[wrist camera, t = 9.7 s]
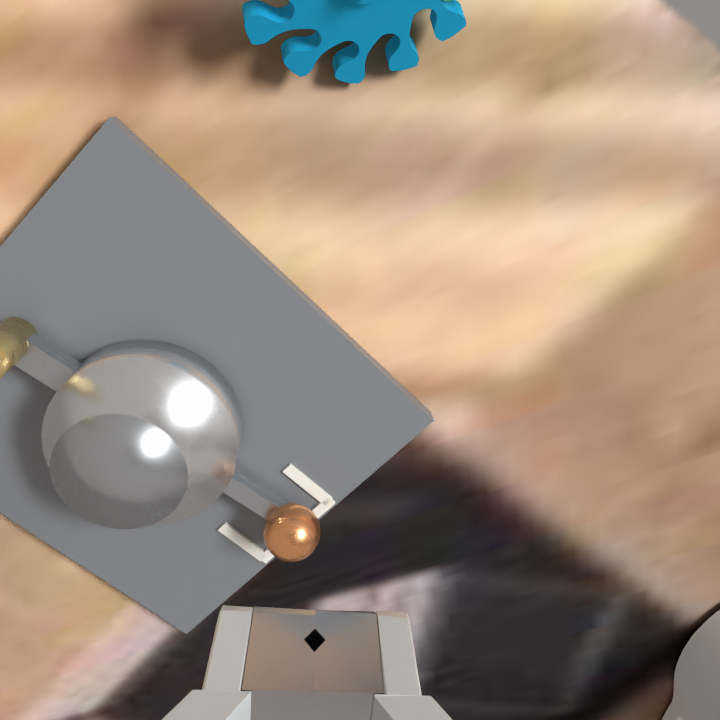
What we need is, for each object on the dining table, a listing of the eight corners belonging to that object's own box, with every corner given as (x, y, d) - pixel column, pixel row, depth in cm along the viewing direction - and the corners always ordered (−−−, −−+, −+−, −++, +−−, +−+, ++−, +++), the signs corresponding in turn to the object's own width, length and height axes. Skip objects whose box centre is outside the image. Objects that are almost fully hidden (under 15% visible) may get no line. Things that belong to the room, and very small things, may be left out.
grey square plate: (430, 411, 35) (434, 422, 34) (189, 621, 39) (185, 636, 38) (116, 116, 28) (108, 117, 27) (-133, 409, 33) (-149, 420, 31)
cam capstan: (50, 250, 29) (5, 277, 25) (366, 471, 35) (374, 524, 30) (-52, 398, 31) (-109, 446, 27) (259, 582, 37) (252, 646, 33)
